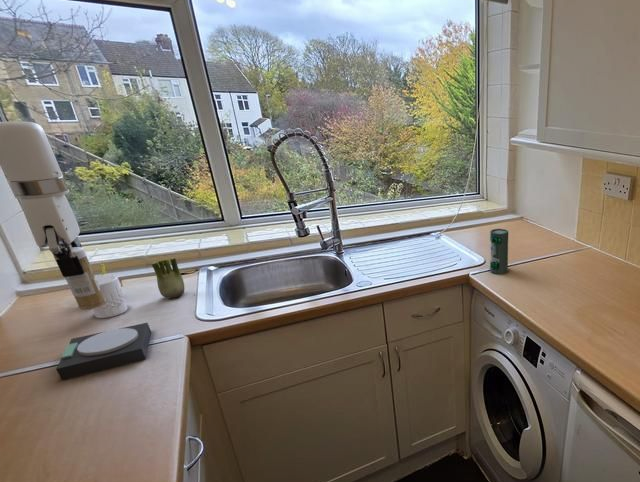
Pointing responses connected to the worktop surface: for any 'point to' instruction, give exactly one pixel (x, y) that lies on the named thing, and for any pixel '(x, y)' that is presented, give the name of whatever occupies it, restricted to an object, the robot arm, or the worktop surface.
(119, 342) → the scale
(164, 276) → the fennel bulb
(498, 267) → the can
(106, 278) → the white cup
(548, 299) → the worktop surface
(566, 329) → the worktop surface
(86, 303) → the sprinkles bottle
